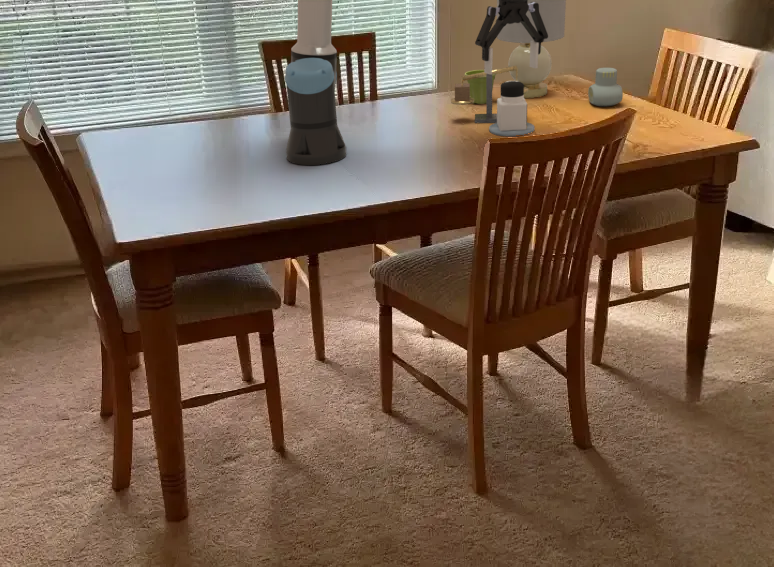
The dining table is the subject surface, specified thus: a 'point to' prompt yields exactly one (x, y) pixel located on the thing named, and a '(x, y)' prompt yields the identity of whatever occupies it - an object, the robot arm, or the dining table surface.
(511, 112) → the medicine bottle
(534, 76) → the lamp
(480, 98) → the plant pot
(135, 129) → the dining table surface
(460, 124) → the dining table surface
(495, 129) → the dish
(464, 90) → the balance scale
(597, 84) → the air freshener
